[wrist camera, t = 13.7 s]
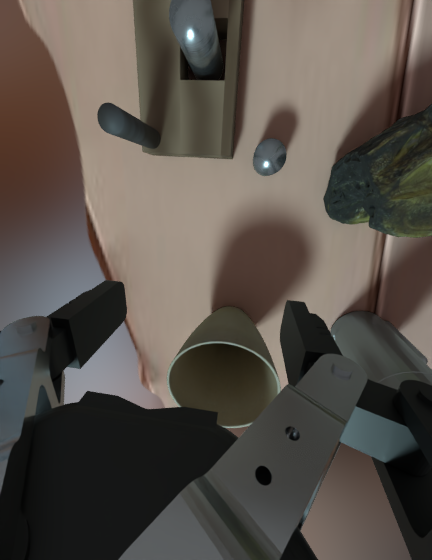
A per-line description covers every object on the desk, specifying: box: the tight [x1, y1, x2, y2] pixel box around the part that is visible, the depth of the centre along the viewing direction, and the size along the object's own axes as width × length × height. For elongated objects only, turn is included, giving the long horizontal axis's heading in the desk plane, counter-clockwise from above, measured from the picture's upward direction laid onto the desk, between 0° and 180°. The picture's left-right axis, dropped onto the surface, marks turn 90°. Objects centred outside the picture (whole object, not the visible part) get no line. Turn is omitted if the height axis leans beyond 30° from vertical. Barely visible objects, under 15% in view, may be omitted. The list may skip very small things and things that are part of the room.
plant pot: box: [167, 306, 281, 428], centre depth 37 cm, size 15×15×16 cm
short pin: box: [253, 138, 286, 176], centre depth 31 cm, size 4×4×5 cm
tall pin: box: [169, 0, 223, 81], centre depth 25 cm, size 4×4×10 cm
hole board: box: [98, 0, 244, 159], centre depth 24 cm, size 12×18×14 cm, turn 177°
